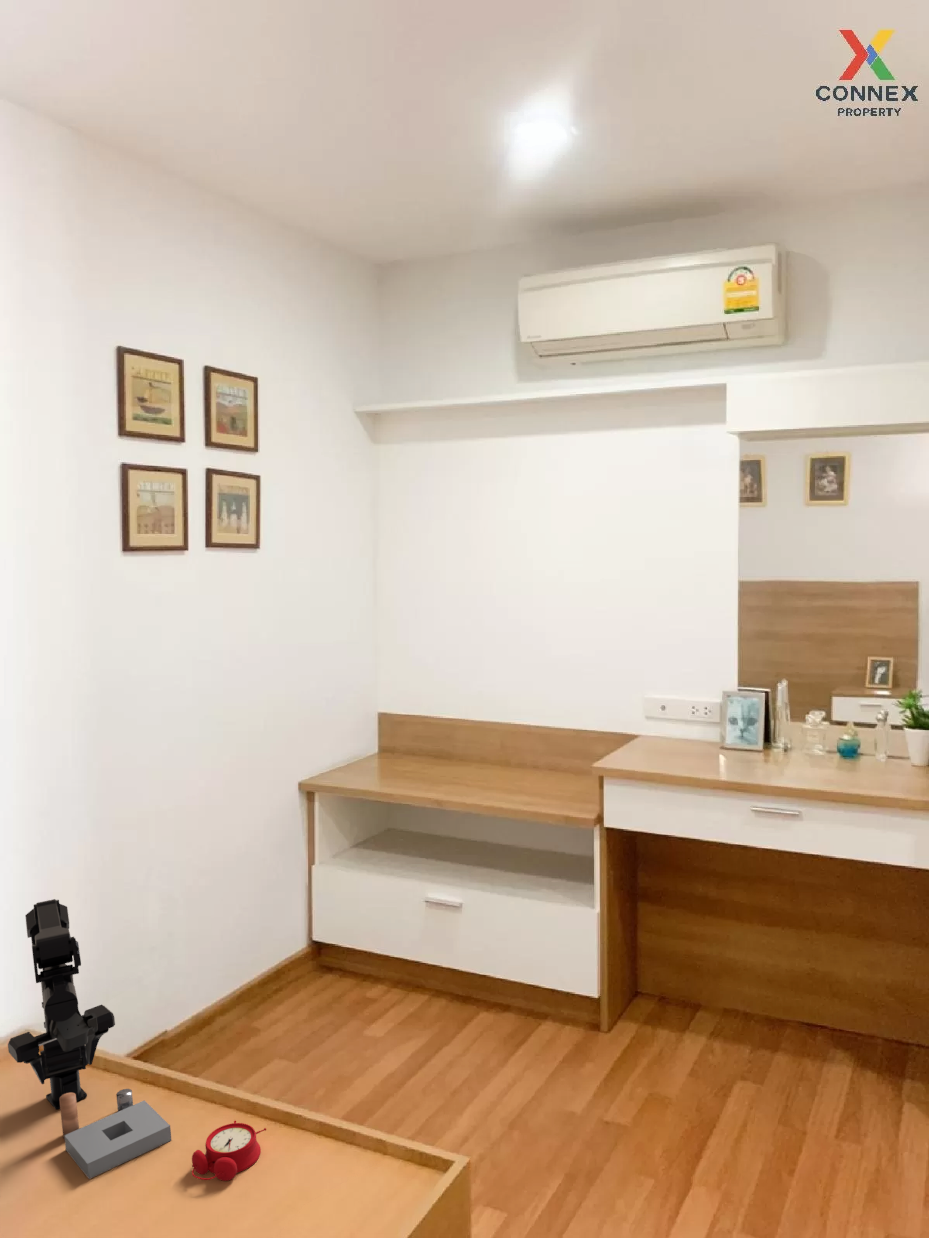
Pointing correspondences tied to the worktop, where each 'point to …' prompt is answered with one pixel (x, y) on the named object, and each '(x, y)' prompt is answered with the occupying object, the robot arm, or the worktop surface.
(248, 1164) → the alarm clock
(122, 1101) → the short stub
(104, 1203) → the worktop surface
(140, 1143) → the block
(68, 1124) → the long dowel
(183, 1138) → the worktop surface
